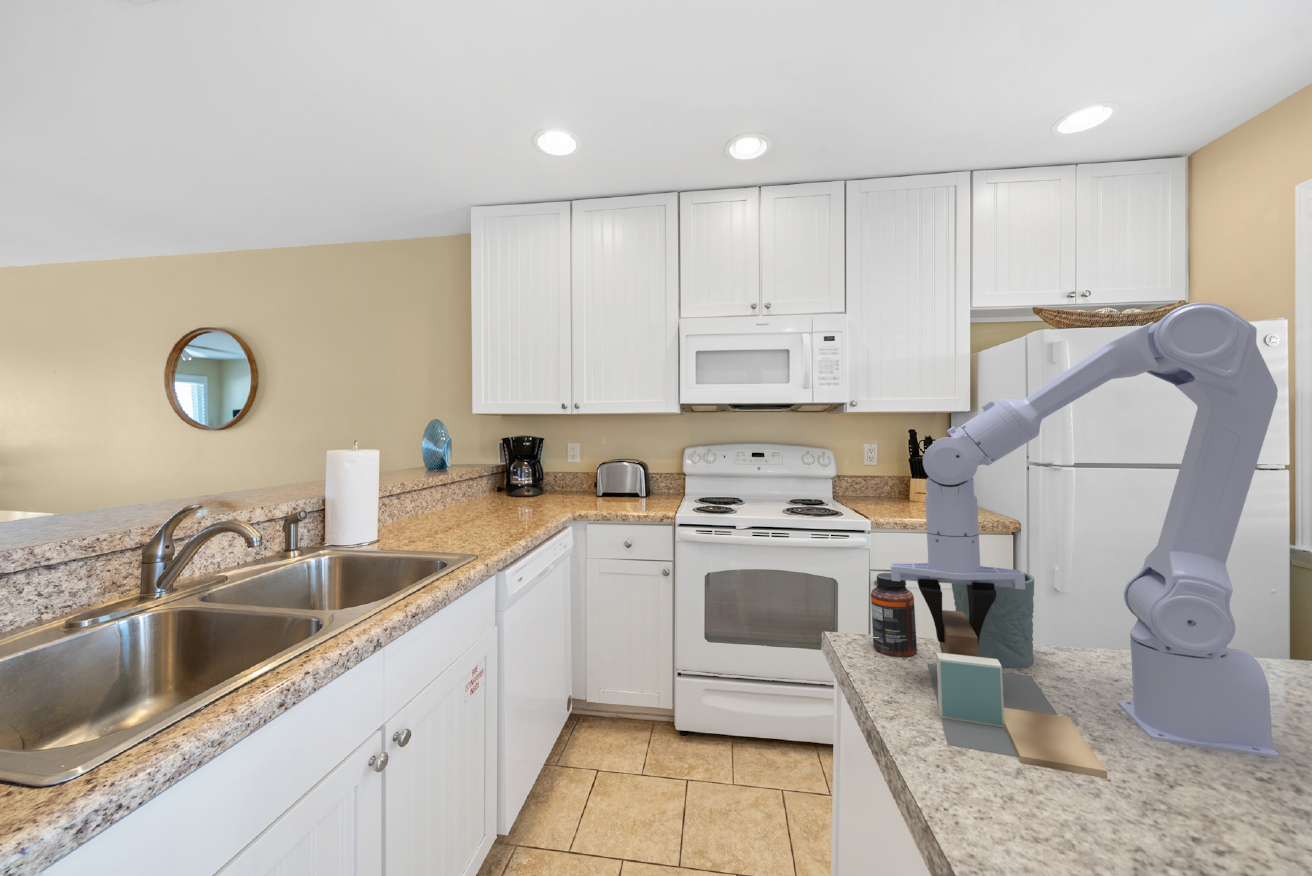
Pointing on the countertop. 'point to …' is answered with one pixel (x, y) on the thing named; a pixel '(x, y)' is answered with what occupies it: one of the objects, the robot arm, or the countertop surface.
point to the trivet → (1050, 742)
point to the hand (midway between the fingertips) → (957, 641)
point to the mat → (995, 739)
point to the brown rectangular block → (958, 635)
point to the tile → (970, 689)
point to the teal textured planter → (1005, 624)
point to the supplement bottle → (893, 617)
